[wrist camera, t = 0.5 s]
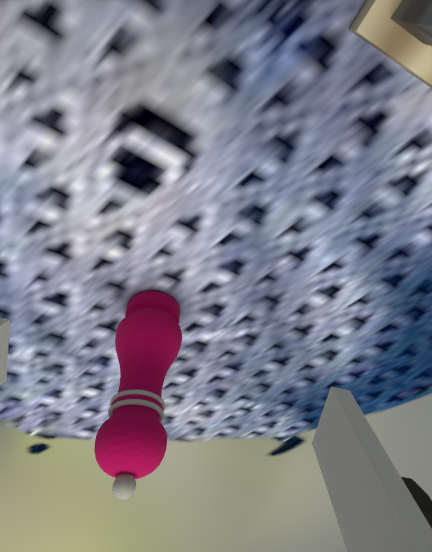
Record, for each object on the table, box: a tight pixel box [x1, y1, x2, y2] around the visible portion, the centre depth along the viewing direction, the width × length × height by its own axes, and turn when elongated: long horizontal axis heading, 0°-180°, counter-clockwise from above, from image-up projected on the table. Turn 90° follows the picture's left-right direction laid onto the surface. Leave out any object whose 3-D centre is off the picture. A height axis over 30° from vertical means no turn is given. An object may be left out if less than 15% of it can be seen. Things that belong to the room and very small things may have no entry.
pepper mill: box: [95, 291, 182, 500], centre depth 33 cm, size 7×7×20 cm
